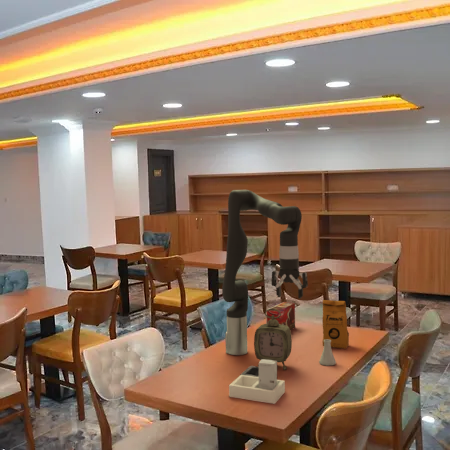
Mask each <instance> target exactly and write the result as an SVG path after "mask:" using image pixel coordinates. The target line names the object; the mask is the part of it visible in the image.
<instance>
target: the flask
mask: <svg viewBox="0 0 450 450" xmlns="http://www.w3.org/2000/svg"><path fill="white" fill-rule="evenodd" d="M330 343H331V340H328V339H326V340H324V346H323V349H322V350H323V351H322V353H321V356H320V358H319V360H318V363H319V364H320V365H322V366H327V367H328V366H335V365H336V364H337V361H336V358H335V355H334V353H333V350H332V347H331V344H330Z"/></svg>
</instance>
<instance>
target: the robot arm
mask: <svg viewBox="0 0 450 450" xmlns="http://www.w3.org/2000/svg"><path fill="white" fill-rule="evenodd" d="M227 200H228V201H227V212H228V213H227V216H228V220H227V221H228V223H227V224H228V225H227V226H228V227H227V240H226V256H225V257H226V259H225V268H224V269H225V270H224V273H223V274H224V276H223V279H222V280H223V281H222V287H221V295H222V299H223V300H224V302H226V303H233V304H232V305H231V306H230V307H229V308H227V310H226V312H225V313H226V332H225V333H224V334H225V338H224V339H225V354H229V355H232V356H243V355H246V354H248V321H247V320H248V319H247V318H248V317H247V315H248V314H247V312H248V308H249V287H248V285H247V283H246V281H245V280H241V279H238V280H236V278H237V274H238V271H239V269H240V268H241V266H242V265H243V263H244V261H245V259H246V258H247V255H248V246H249V245H248V244H249V243H248V242H249V241H248V237H247V234H246V232H245V231H244V229H243V226H242V224H241V217H240V215H241V212H243V211H245V212H246V211H258V213H259V214H260V215H262V216H263V217H265V218H268V219H270V220H273V221H274V222H275V223H276V224H279V225H283V226H284V225H286V226H287V227H286V229H283V230H281V232H280V233H279V252H278V254H279V255H278V256H279V271H278V270H276V269H275V270H272V271H271V286H272V287H275V288H276V289H275V291H276V293H275V294H276V296H277V298H280V297H282V287H281V286H282V284H284V283H286V284H287V283H291V284H293V283H294V285H296V287H297V288H298V289H297V294H298V295H297V296H298V299H299V300H300V299H302V297H304V289H306V288H308V286H309V284H308V283H309V282H308V281H309V280H308V273H307V271H304V272H300V270H299V269H300V263H299V262H300V261H299V260H300V257H299V256H300V255H299V253H300V252H299V243H298V241H299V239H298V238H299V236H298V235H299V233H300V227H301V224H302V219H303V217H302V210H301V209H300V207H298V206H296V205H292V206H290V205H289V206H284V205H282V204H281V203H279V202H276V201H272V200H270V199H267V198H264V197H262V196H261V195H258V194H257V193H255V192H254V191H252V190H249V189H233V190H231V191H230V192H229V195H228V199H227ZM278 276H279V277H280V279H279V281H278V282H277V277H278ZM299 277H300V278H301V279H302V282H301V280H300V279H299Z"/></svg>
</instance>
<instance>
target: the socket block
mask: <svg viewBox="0 0 450 450" xmlns="http://www.w3.org/2000/svg"><path fill="white" fill-rule="evenodd" d="M240 375H247V376H254V377H259V367H258V365H257V366H255V365H249V366H248V367H247V368H246V369H245V370H244V371H242V372H241V373H240V374H239V376H240Z"/></svg>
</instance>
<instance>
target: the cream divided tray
mask: <svg viewBox="0 0 450 450" xmlns="http://www.w3.org/2000/svg"><path fill="white" fill-rule="evenodd" d="M285 381H286V380H283V379H282V380H281V379H277V386H276V387H275V388H274V389H273V390H267V389H260V388H259V377H254V376H247V375H240V374H239V376H237V378H235V379H234V380H233V381H232V382H231V383H230V384H229V385H228V397H229V398H236V399H242V400H249V401H255V402H259V403H267V404H274V405H276V404H277V402H278V401H279V400H280V398H281V397H282V396H283V395H284V393H286V383H285Z"/></svg>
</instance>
